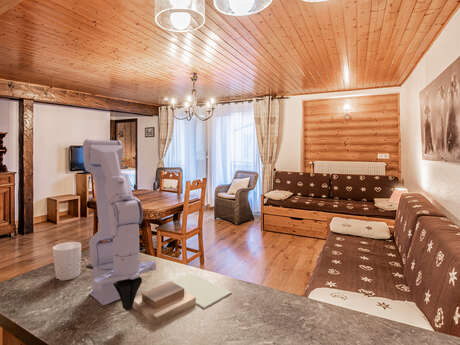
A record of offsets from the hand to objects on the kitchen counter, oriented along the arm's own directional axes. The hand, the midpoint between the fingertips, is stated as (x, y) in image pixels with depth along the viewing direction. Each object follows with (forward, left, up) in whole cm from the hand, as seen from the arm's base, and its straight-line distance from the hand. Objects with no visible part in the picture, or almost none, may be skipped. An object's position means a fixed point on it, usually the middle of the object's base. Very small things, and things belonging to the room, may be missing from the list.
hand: (127, 308), depth 65 cm
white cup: (-37, -1, -4) cm, 37 cm away
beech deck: (0, +10, -4) cm, 11 cm away
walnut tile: (0, +10, -2) cm, 10 cm away
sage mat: (0, +22, -4) cm, 22 cm away
